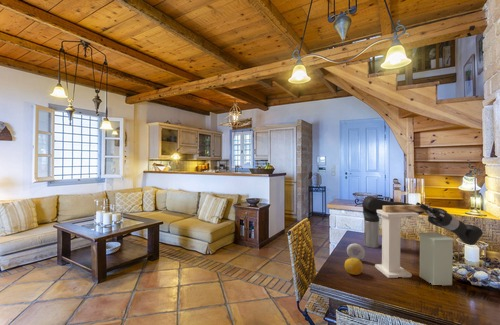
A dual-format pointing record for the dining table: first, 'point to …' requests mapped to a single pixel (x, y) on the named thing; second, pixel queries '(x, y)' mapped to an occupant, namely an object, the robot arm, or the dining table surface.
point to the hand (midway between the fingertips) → (418, 204)
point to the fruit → (353, 266)
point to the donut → (357, 247)
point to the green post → (436, 258)
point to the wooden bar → (403, 208)
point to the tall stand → (392, 244)
